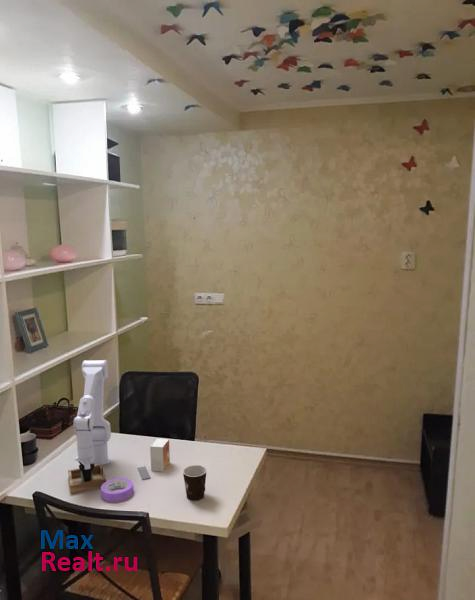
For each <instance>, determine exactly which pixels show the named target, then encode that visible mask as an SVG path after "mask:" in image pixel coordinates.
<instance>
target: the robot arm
mask: <svg viewBox="0 0 475 600" xmlns="http://www.w3.org/2000/svg"><path fill="white" fill-rule="evenodd" d="M81 373H82V376H83V378H84V390H83V396H82V397H81V398H80V399H79V404H78V408H77V409H78V410H77V414H76V416H75V417H74V418H73V423H72V424H73V427H72V428H73V430H74V435H75V436H76V446H77V456H75V457H74V461H75V462H78V463H79V465H78V469H80V470H81V472H82V474H83V478H84V481H85V482H87V481H90V480H91V475H92V470H93V468H94V466H95V465H100V464H102V465H106V464H107V465H108V464H110V463H111V461H110V458H109V454H108V453H109V452H108V442H109V440H111V435H112V430H111V422H109V421H108V420H107V419H106V418H104V410H105V409H104V405H105V404H104V397H105V395H104V393H105V392H104V387H105V386H104V385H105V380H107V379H109V362H108V360H107V359H102V360H99V359H98V360H95V359H94V360H88V359H85V360H83V361H82V363H81Z"/></svg>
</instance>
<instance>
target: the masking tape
mask: <svg viewBox="0 0 475 600" xmlns="http://www.w3.org/2000/svg"><path fill="white" fill-rule="evenodd" d="M119 488H121V489H119ZM114 489H119V490H114ZM100 494H101V496H100V497H101V499H102V500H103V501H106V502H110V503H116V502H117V503H118V502H123V501H126V500H128V499H129V498H130V497H132V496H133V494H134V482H133V481H132V480H131V479H129V478H127V477H116V478H111V479H109V480H106V482H105V483H103V484H102V486H101V488H100Z"/></svg>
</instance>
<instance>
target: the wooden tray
mask: <svg viewBox="0 0 475 600" xmlns="http://www.w3.org/2000/svg"><path fill="white" fill-rule="evenodd" d="M67 473H68V483H69V490H70V491H69V492H70V494H71V495H72V494H76V493H83V492H87V491H92V490H96V489H97V490H98V489H101V486H102V484H103V483H105V482H106V481H107V477H106V474H104V468H103V464H100V465H95V466H94V468H93V470H92V474H93V480H92V481H87V482H82V481H81V470H80V469H79V468H74V469H68V472H67Z"/></svg>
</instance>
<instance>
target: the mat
mask: <svg viewBox="0 0 475 600" xmlns="http://www.w3.org/2000/svg"><path fill="white" fill-rule="evenodd" d="M136 469H137V472H138V474H139V477H140V479H141V480H142V481H145V480H149V479H151V476H150V474H149V471H148V469H147V468H146V466H140V467H136Z"/></svg>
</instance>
